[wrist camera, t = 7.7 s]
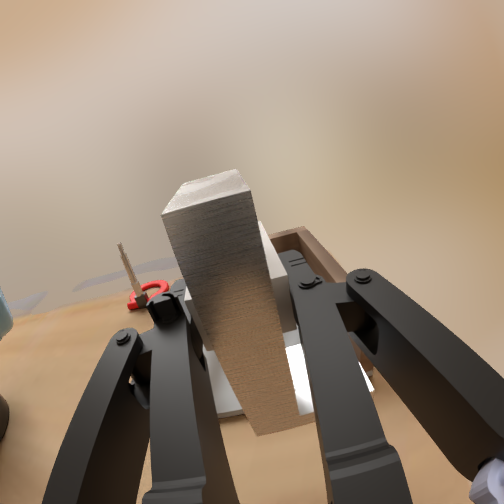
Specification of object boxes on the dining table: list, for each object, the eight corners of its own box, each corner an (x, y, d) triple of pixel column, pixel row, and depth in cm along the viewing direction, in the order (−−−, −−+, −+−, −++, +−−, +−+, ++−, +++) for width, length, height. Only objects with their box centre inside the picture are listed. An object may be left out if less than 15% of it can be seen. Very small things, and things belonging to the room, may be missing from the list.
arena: (194, 421, 24) (155, 368, 20) (199, 306, 44) (180, 258, 40) (372, 375, 24) (378, 310, 20) (311, 276, 44) (303, 225, 40)
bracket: (256, 436, 12) (160, 214, 7) (246, 370, 16) (183, 183, 11) (372, 401, 12) (384, 163, 7) (341, 344, 16) (323, 150, 11)
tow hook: (138, 289, 55) (125, 312, 47) (116, 234, 51) (98, 250, 42) (172, 281, 55) (164, 304, 47) (152, 223, 51) (138, 238, 42)
